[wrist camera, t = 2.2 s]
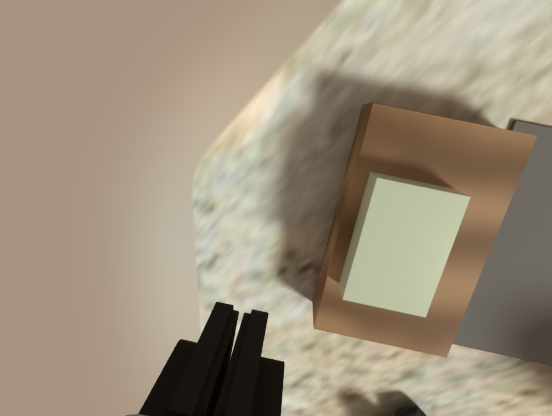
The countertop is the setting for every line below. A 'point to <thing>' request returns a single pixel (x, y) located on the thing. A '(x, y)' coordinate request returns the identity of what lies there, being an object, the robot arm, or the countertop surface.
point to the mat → (518, 268)
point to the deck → (434, 170)
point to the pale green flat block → (401, 243)
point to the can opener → (410, 412)
